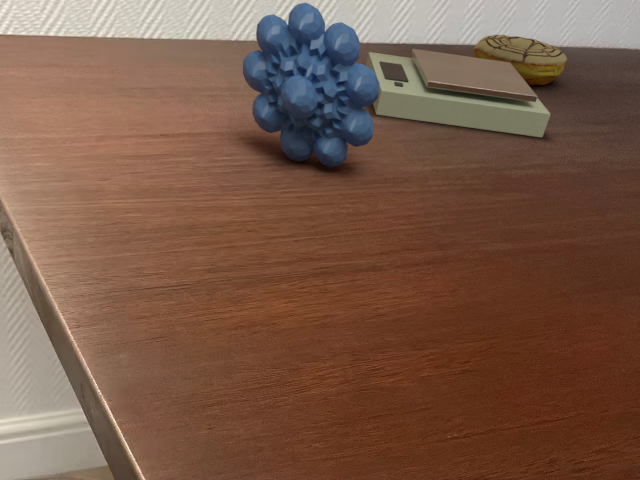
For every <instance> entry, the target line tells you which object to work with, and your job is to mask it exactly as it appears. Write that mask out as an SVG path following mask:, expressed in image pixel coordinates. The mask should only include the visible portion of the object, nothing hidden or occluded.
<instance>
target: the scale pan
mask: <svg viewBox="0 0 640 480" xmlns="http://www.w3.org/2000/svg"><path fill="white" fill-rule="evenodd" d="M410 55H411V56H412V57H411V58H413V59H414V61H415V63H416V65H417V67H418V69H419V71H420V74H421V76H422V78H423V80H424V82H425V84H426V86H427V87H430V88H437V89H444V90H451V91H459V92H466V93H473V94H480V95H487V96H494V97H501V98H508V99H516V100H523V101H530V102H536V100H537V98H538V95H537V93H536V92H534V90H533V89H532V87H530V85H528V84H527V83H526V82H525V80H524V79H523V78H522V77H521V75H520V74H519V73H518V72H517V70H516V69H515V68H514V67H513V66H512V64H511V63H510V62H503V61H496V60H489V59H482V58H475V56H468V55H467V56H466V55H461V54H454V53H453V54H452V53H447V52H439V51H431V50H425V49H418V48H412V49H411V53H410Z"/></svg>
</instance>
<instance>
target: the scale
mask: <svg viewBox="0 0 640 480" xmlns="http://www.w3.org/2000/svg"><path fill="white" fill-rule="evenodd" d="M365 66H367V67H369V68H371V69H372V70H373V71H374V73H375V74H376V76H377V78H378V81H379V83H380V86H379V93H378V99H377V100H376V101H375V102H374V103H373V109H374V113H375V115H376V116H382V117H388V118H389V117H390V118H397V119H404V120H410V121H419V122H426V123H432V124H433V123H434V124H439V125H440V124H442V125H447V126H448V125H449V126H455V127H463V128H470V129H477V130H484V131H491V132H498V133H506V134H512V135H521V136H528V137H535V138H544V134H545V132H546V128H547V126H548V123H549V120H550V117H551V112H550V111H549V110H548V108H547V107H546V106H545V105H544V104H543V103H542V102H541V100H540V99H539V97H537V100H536V102H530V101H523V100H516V99H508V98H501V97H494V96H487V95H480V94H473V93H466V92H459V91H451V90H444V89H437V88H430V87H427V86H426V84H425V82H424V80H423V78H422V76H421V74H420V71H419V69H418V67H417V65H416V63H415V61H414V59H413V57H407V56H400V55H394V54H388V53H387V54H386V53H379V52H373V51H368V54H367V59H366V63H365Z"/></svg>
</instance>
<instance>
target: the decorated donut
mask: <svg viewBox="0 0 640 480" xmlns="http://www.w3.org/2000/svg"><path fill="white" fill-rule="evenodd" d="M473 52H474V57H475V58H482V59H489V60H496V61H503V62H510V63H511V64H512V66H513V67H514V68H515V69H516V70H517V72H518V73H519V74H520V75H521V77H522V78H523V79H524V80H525V82H526V83H527V84H528V85H529V86H545V85H548V84H550V83H552V82H554V81H555V80H556V79H557V78H559V76H560V75H561V74H562V73H563V71H564V69H565V66H566V63H567V60H568V57H567V55H566V54H565V53H564V52H563V51H562V50H560V49H559V48H558V47H556V46H553V45H552V44H549V43H547V42H546V43H545V42H543V41H541V40H537V39H534V38H529V37H522V36H513V35H512V36H510V35H505V34H492V35H486V36H484V37H482V38H481V39H480V40H479V41H478V42H477V43H476V44H475V46H474V47H473Z"/></svg>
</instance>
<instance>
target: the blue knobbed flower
mask: <svg viewBox="0 0 640 480" xmlns="http://www.w3.org/2000/svg"><path fill="white" fill-rule="evenodd" d="M255 36H256V42H257V45H258V47H259V49H258V50H251V51H250V52H249V53H248V54H247V55H246V56H245V57H244V59H243V61H242V74H243V77H244V80H245V82H246V83H247V85H248V86H249V87H250V88H251V89H252V90H253V91H256V92H258V93H259V94H257V96H256V97H255V98H254V100H253V101H252V108H251V109H252V110H251V111H252V117H253V120H254V122H255V123H256V125H257V126H258V127H259V128H260V129H261V130H263V131H264V132H267V133H269V134H273V133H277V132H279V133H280V134H279V144H280V148H281V150H282V152H283V153H284V155H285V156H286V157H287V158H289V160H292V161H294V162H296V163H299V162H303V161H307V160H309V158H310V157H311V156H312V155H313V154H314V156H315V157H316V159H317V160H318V161H319V162H320V163H321V164H322V165H324V166H326V167H328V168H335V167H339V166H342V165H343V164H344V162H346V160H347V156H348V149H349V145H351V146H352V147H354V148H357V147H362V146H366V145H368V144H369V142H370V141H371V140H372V139H373V137H374V128H375V123H374V120H373V118H372V116H371V114H370V112H369V111H368V110H367V109H365V108H366V107H370V106H372V105H373V103H374V102H375V101H376V100H377V99H378V93H379V86H380V83H379V81H378V78H377V76H376V74H375V73H374V71H373V70H372V69H371V68H369V67H367V66H366V64H363V63H361V62H360V63H356V62H357V61H358V60H359V59H360V52H361V51H360V49H361V41H360V38H359V36H358V34H357V32H356V30H355V29H354V28H353V27H351V26H349V25H348V24H346V23H344V22H342V21H340V22H335V23H331V24H330V25H328V27H327V28H326V22H325V19H324V17H323V15H322V14H321V11H320V9H319V8H317V7H315V6H313V5H312V4H310V3H308V2H302V3H298V4H296V5H295V6H294V7H293V8H292V9H291V10H290V12H289V13H288V21H287V22H286V20H285V19H284V18H281V17H280V16H278V15H276V14H268V15H265V16H263V17H262V18H261V19H260V21H259V22H258V23H257V24H256V32H255Z"/></svg>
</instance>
